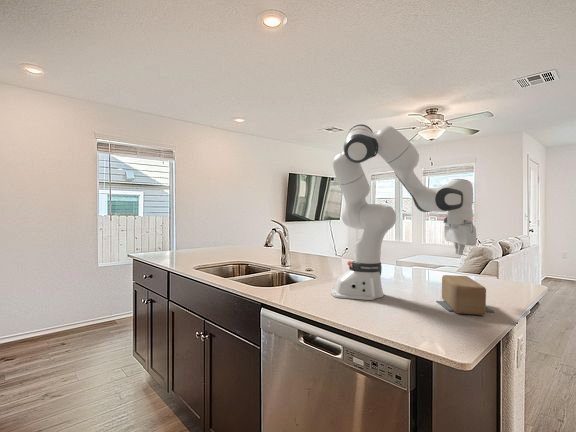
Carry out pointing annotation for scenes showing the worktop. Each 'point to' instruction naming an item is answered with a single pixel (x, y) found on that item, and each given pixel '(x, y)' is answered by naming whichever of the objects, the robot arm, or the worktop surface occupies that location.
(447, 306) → the mat
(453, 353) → the worktop surface
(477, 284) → the wooden block
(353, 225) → the robot arm
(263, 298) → the worktop surface
